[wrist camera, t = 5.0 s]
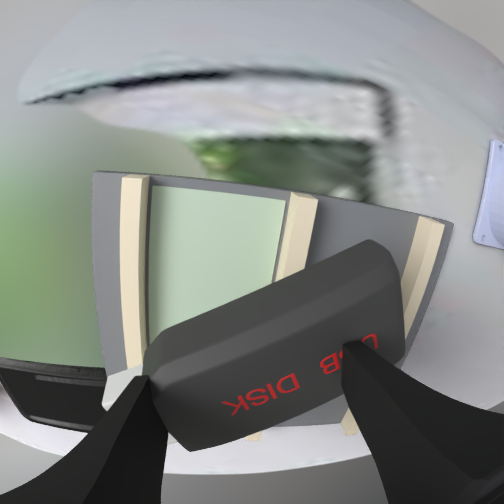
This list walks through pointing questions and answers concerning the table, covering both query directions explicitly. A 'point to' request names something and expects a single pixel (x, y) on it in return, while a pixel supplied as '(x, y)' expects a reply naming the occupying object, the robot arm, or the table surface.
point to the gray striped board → (234, 256)
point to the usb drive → (271, 349)
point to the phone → (55, 392)
